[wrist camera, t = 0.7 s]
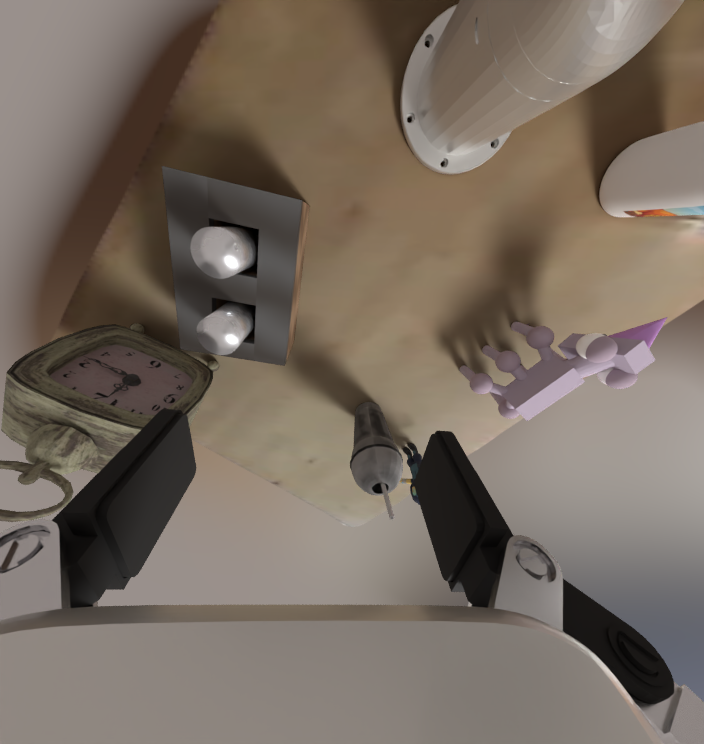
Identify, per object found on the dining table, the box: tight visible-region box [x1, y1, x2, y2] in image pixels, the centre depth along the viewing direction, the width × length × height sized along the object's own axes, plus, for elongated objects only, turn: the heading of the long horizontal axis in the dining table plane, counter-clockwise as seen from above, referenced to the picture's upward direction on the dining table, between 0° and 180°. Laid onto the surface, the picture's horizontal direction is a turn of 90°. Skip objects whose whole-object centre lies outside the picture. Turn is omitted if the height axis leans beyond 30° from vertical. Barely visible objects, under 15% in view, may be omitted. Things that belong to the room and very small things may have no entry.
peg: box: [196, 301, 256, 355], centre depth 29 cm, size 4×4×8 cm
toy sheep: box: [460, 317, 667, 421], centre depth 36 cm, size 20×11×14 cm, turn 138°
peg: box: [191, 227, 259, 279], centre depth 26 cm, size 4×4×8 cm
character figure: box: [400, 443, 422, 505], centre depth 46 cm, size 9×4×12 cm, turn 140°
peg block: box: [162, 166, 310, 366], centre depth 31 cm, size 18×12×8 cm
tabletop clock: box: [0, 323, 219, 522], centre depth 29 cm, size 14×9×25 cm, turn 56°
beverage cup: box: [350, 402, 403, 520], centre depth 38 cm, size 7×7×20 cm
